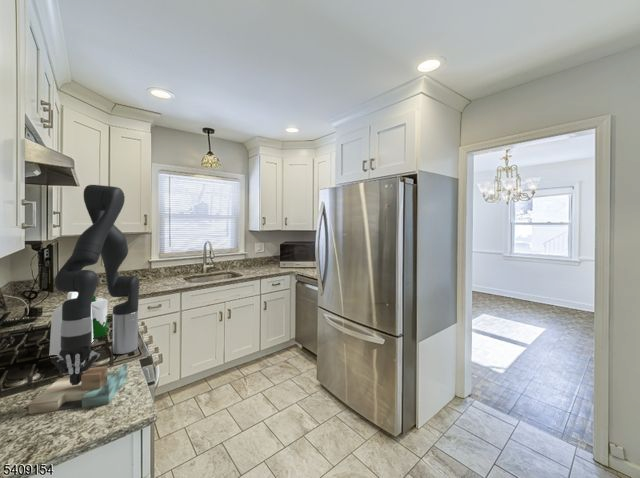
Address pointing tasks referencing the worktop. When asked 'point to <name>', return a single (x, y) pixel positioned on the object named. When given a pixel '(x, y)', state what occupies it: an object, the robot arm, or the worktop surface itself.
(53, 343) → the milk
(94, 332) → the milk carton
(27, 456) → the worktop surface
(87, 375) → the block
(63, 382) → the pixelated toy pickaxe
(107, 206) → the robot arm
